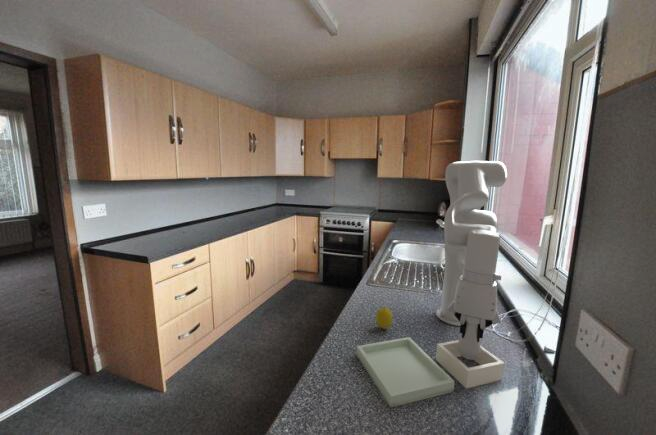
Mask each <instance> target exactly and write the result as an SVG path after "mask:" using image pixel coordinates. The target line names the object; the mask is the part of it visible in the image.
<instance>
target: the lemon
mask: <svg viewBox="0 0 656 435" xmlns="http://www.w3.org/2000/svg"><path fill="white" fill-rule="evenodd" d="M375 319H376V324H377V325H378V327H380V328H382V329H383V330H385V329H388V328H389V327H391V325H392V323H393V313H392V312H391V310H390V309H389V308H387V307H381V308H379V309H378V310H377V313H376V317H375Z"/></svg>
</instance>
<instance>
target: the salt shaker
mask: <svg viewBox="0 0 656 435" xmlns="http://www.w3.org/2000/svg"><path fill="white" fill-rule="evenodd" d="M465 320H466V331H465V335H464V338H462V333H460V337H459V339H458V340H459V342H458V348H459V351H460V353H461V356H462V357H463V358H464V359H465V360H470V361H471V360H472V361H475V358H476V357H477V356H478V355H479V354H480V346H481V340H479V342H477V332H478V327H479V324H480V318H477V317H473V316H468V315H466V319H465Z"/></svg>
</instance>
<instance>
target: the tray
mask: <svg viewBox="0 0 656 435" xmlns="http://www.w3.org/2000/svg"><path fill="white" fill-rule="evenodd" d="M356 357H357V359H359V361H360V363H361V364H362V366H363V367H364V369H365V370H366V372H367V373H368V376H370V378H371V379H372V381H373V383H374V385H376V387H377V389H378V391H379V393H381V395H382V397H383V399H384V400H385V402H386V403H387V404H388V406H389V408H394V407H399V406H403V405H406V404H411V403H415V402H419V401H422V400H426V399H431V398H434V397H439V396H443V395H446V394H450V393H454V390H455V384H456V383H455V380H454V379H453V378H452V377H451V376H450V375H449V374H448V373H447V372H446V371H445V370H444V369H443V368H442V367H440V366H439V364H437V363H436V361H435V360H433V358H431V357H430V356H429V354H427V353H426V352H425V351H424V350H423V349H422V348H421V347H420V346H419V345H418V344H417V342H415V341H414V339H412V338H411V337H410V336H408V337H403V338H396V339H390V340H384V341H378V342H372V343H368V344H362V345H361V344H360V345H357V346H356Z"/></svg>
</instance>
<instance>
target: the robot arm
mask: <svg viewBox="0 0 656 435" xmlns="http://www.w3.org/2000/svg"><path fill="white" fill-rule="evenodd" d="M444 177H445V178H444V179H445V185H446V188H447V191H448V194H449V200H450V204H449V207H448V208H447V209H446V212H445V215H444V220H443V221H444V222H443V226H444V228H443V230H444V231H443V232H444V234H443V236H444V241H445V242H444V250H443V251H444V272H443V273H444V276H443V282H442V285H443V286H442V294H441V295H442V296H441V304H440V306H441V307H440V308H437V309H436V312H435V316H436V317H437V319H439V320H441V321H442V322H444V323H445V324H449V325H451V326H458V327H459V334H462V338H464V335H465V331H466V320H465V319H466V315H468V316H473V317H477V318H480V324H479V327H478V332H477V342H479V340H480V339H483V337H484V330H486V329H487V328H489V327H491V326H492V325H496V324H501V323H502V320H501V317H500V315H499V312H498V310H497V302H498V283H497V281H501V280H502V275H501V274H498V273H497V272H496V270H497V263H498V257H499V248H500V241H501V240H500V239H501V238H500V232H499V225H498V224H499V223H498V218H497V214H496V213H494V212H493V211H491V210H483V209H481V208H483V207H484V206H485V205H487V203H488V201H489V198H490V196H489V189H488V188H489V187H490V188H491V187H492V188H501V187H502V186H503V185H505V183H506V181H507V178H508V171H507V167H506V164H504V163H503V162H502V161H497V160H489V161H488V160H469V161H463V160H462V161H454V162H451V163H449V164H447V165H446V167H445V176H444ZM480 341H481V340H480Z"/></svg>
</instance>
